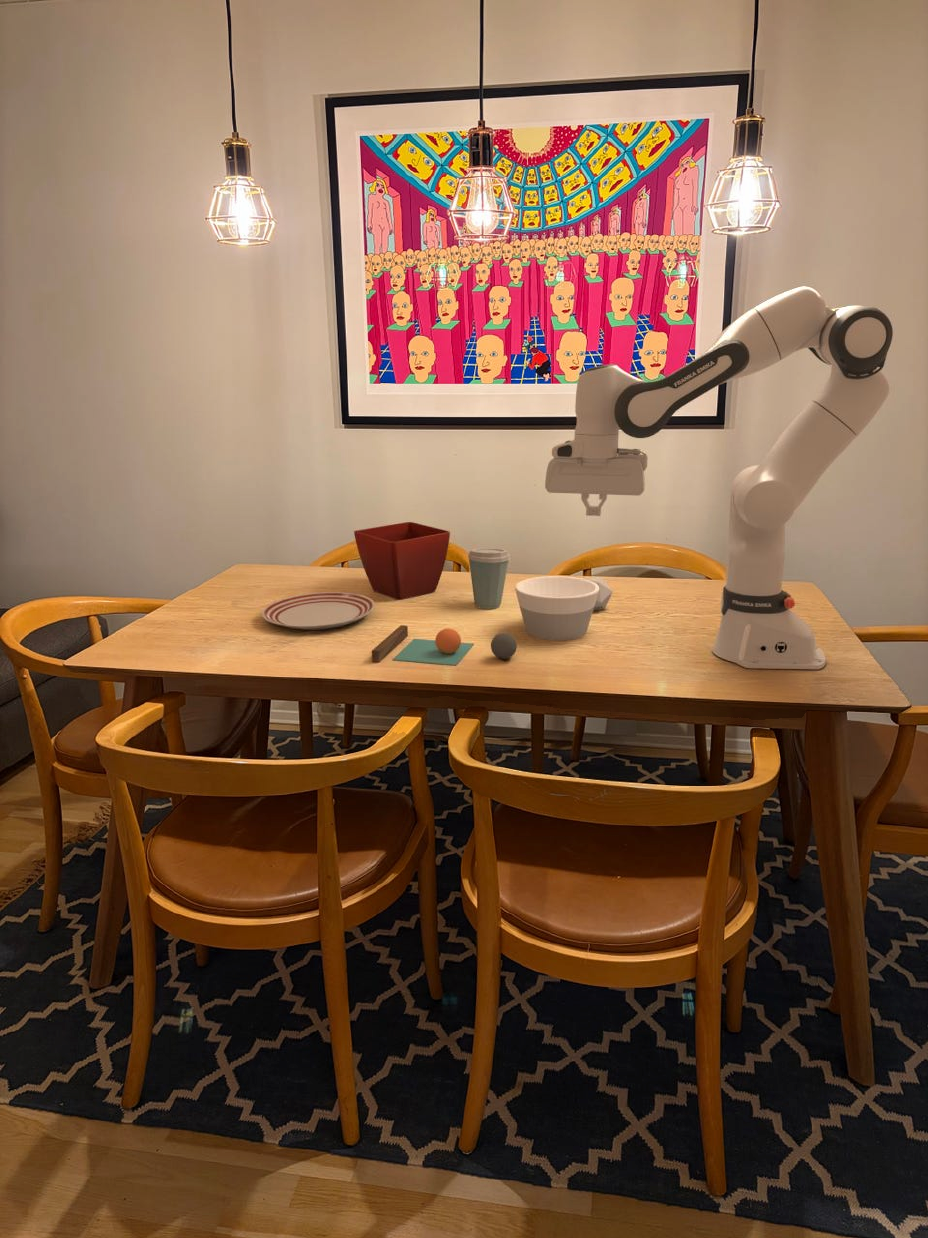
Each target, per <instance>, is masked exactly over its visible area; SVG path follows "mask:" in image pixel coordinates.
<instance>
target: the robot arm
mask: <svg viewBox="0 0 928 1238" xmlns="http://www.w3.org/2000/svg"><path fill="white" fill-rule="evenodd" d="M893 334H894V332H893V326H892V323H891V321H890V319H889V317H888V316H887V315H886V313H884V312H883V311H882V310H880V309H878V308H876V307H874V306H870V305H847V306H844V307H833V308H830V307H829V306H828V305H827V304H826V301H825V299H824V298H823V297H822V295H821V294H820V293H819V292H818V291H816V290H815V289H814V288H812V287H810V286H800V287H797V288H793V289H791V290H788V291H785V292H783V293H781V294H778V295H776V296H774V297H772V298H770V299H768V300H766V301H764V302H762V303H761V304H759V305H757V306H755V307H753V308H752V309H750V310H748V311H747V312H745V313H744V314H742V315H741V316H739V317H738V318H737V319H736V320H734V321H733V322H732V323H730V324H729V325H728V326H726V327H725V328H724V330H723V331H721V332H720V334H719V335H718V337H717V338H716V339H715V341H714V342H713V344H712V345H710V347H709V348H708V349H707V350H705V352H704V353H702V354H701V355H699V356H698V357H697V358H695V359H693V360H692V361H690V362H689V363H687V364H685V365H684V366H682V367H680V368H679V369H677V370H675V371H673V372H671V373H670V374H668V375H667V376H665V377H662V378H660V379H657V380H653V381H649V382H648V381H646V380H643V379H641V378H639V377H636V376H634V375H632V374H629V373H628V372H626V371H624V370H623V369H621V368H620V366H618V365H617V364H614V363H609V364H608V363H607V364H604V365H598V366H594V367H590V368H589V367H588V368H586V369H585V370H584V371H582V372H581V374H580V375H579V377H578V379H577V384H576V391H575V392H576V393H575V406H574V407H575V417H576V425H575V428H574V438H573V439H572V440H566V441H564V442H562V443H559V444H556V445H554V446H553V447H552V448H551V449H552V450H551V456H552V457H553V458H551V459H550V460H549V462H548V464H547V467H546V473H545V480H544V481H545V484H544V486H545V490H546V491H547V492H548V494H549V493H550V494H573V495H574V494H577V495H579V494H581V495H580V496H581V497H580V499H581V502H583V503H582V504H583V505H584V506H585V509H586V510H585V511H586V512H585V515H586V516H589V517H592V516H593V517H601V516H602V507H603V506H604V504H605V503H606V501H607V500H608V496H609V495H611V496H638V497H639V496H641V495H642V494H643V493H644V492H645V488H646V487H645V485H646V481H645V471H646V469H647V468H648V455H647V454H646V452H645V451H642V450H641V448H622V447H621V448H620V447H619V435H620V434H619V433H620V432H619V431H620V430H621V432H623V433H624V434H626V435H627V436H630V437H631V438H635V439H646V438H650V437H652V436H655V435H656V434H657V433H659V432H660V431H661V430H662V429H663V428H665V426H666V425H667V423H668V422H669V420H670V419H671V418H672V417H673V415H674V414H675V413H676V412H677V411H679V410H680V409H681V408H682V407H684V406H686V405H688V404H689V403H691V402H693V401H694V400H695V399H697V398H699V397H701V396H702V395H704V394H706V393H707V392H709V391H711V390H713V389H715V388H716V387H718V386H719V385H723V384H725V383H728V382H730V381H733V380H737V379H741V378H743V377H747V376H750V375H752V374H755V373H757V372H760V371H762V370H765V369H767V368H769V367H771V366H772V365H773V366H774V365H775V364H777V363H779V362H781V361H782V360H784V359H786V358H787V357H789V356H790V355H792V354H794V353H796V352H798V351H801V350H803V349H808V350H809V351H810V352H811V353H812V354H813V355H814V356H815V357H816V358H817V359H818V360H819V361H821V362H823V363H824V364H827V365H829V366H831V367H830V369H831V371H830V375H829V378H828V379H827V382H826V383H825V385H823V388H822V389H821V390H820V391H819V392H817V394H816V395H815V396H814V397H813V398H812V400H811V401H809V403H808V404H807V405H806V406H805V407H804V408H803V409H802V411H801V412H800V413H798V415H797V416H795V418H794V419H793V420H792V421H791V422H790V424H789V425H788V426H787V427H786V428H785V429H784V431H782V433H781V434H780V436H779V437H778V439H777V440H776V442H775V443H774V445H773V446H772V448H771V449H770V450H769V451H768V453H767V454H766V455H765V457H764V458H763V459H762V461H761V462H760V463H759V464H757V465H752V466H748V467H746V468H744V469H743V470H742V471H740V472H739V473H738V474H737V475H736V476H735V478H734V479H733V482H732V484H731V486H730V487H731V488H730V496H729V497H730V498H729V499H730V500H729V515H728V517H729V521H728V523H729V524H728V552H727V553H728V554H727V565H726V567H727V568H726V576H725V577H726V578H725V586H724V587H723V588H722V593H721V603H720V610H721V611H720V612H721V619H720V624H719V628H718V631H717V635H716V639H715V640H714V643H713V646H712V649H711V651H712V653H713V654H714V655H715V656H716V657H719V658H721V659H724V660H725V661H729V662H733V663H735V664H737V665H739V666H741V667H744V668H746V669H766V670H767V669H773V670H775V669H776V670H777V669H778V670H779V669H780V670H820V669H822V668H824V667H825V666H826V662H827V661H826V660H827V659H826V654H825V652H824V650H822V649H821V648H820V647H818V646H817V644H816V636H815V633H814V631H813V630H814V629H812V627H811V626H810V625H809V623H807V622H806V621H805V620H804V619H802V618H801V616H799V615H798V614H797V613H795V612H794V611H792V609H793V608H794V607H795V605H796V601H795V599H794V598H793V597H792V595H791V594H789V592H788V591H787V590H786V591H785V590H783V589H782V587H783V577H784V571H785V570H784V569H785V568H784V567H785V562H786V561H785V560H786V545H785V544H786V541H785V540H786V539H785V534H786V533H785V528H786V527H785V525H786V523H787V522H789V520H790V519H791V517H792V516H793V515H794V513H795V511H796V510H797V509H798V508H799V506H800V505H801V504H802V503H803V501H804V500H805V499H806V497H807V496H808V495H809V494H810V492H811V491H812V490H813V488H814V487H815V486H816V484H817V483H818V481H819V479H820V478H821V477H822V476H823V474H825V473H826V470H827V469H828V468H829V467H830V466H831V465H832V464H833V462H834V461H836V460H837V458H838V457H839V456H840V455H841V454H842V453H843V452H844V451H845V450H846V449H847V447H849V446H850V444H851V443H852V442H853V441H855V439H856V438H857V437H858V436H859V435H860V434H861V433H862V431H863V430H864V429H866V427H868V425H869V424H870V422H871V421H873V418H874V417H875V415H877V413H878V412H879V410H880V409H881V408H882V406H883V404H884V402H885V401H886V399H887V398H888V395H889V393H890V387H889V382H888V380H887V379H886V377H885V375H884V373H882V372H881V371H882V370H883V368H884V367H885V362H886V360H887V355H888V352H889V350H890V347H891V344H892V340H893ZM590 495H598V499H599V500H600V502H599V504H598V506H595V505H592V506H591V504H590V502H589V500H588V499H589V498H590Z"/></svg>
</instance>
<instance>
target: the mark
mask: <svg viewBox="0 0 928 1238" xmlns="http://www.w3.org/2000/svg"><path fill="white" fill-rule="evenodd" d="M473 646H474V643H472V642H470V643H469V642H461V644H460V647H459V649H458V650H457V651H456V652H454V653H452V654H445V653H442V652H441V651H439V650H438V648H437V646H436V643H435V640H434V639H423V638H413V639H412V640H411V641H410V642H409V643H408V644H407V645H406V646H405V647H403V649H402V650H401V651H400V652H398V654H397V655H395V656H394V657H393V658H392V661H399V662H411V663H422V664H430V665H431V664H433V665H441V664H442V665H441V666H443V665H444V666H453V665H454V667H455V666H456V665H457V666H458V664H459V663H460V662H461V661H462V660H463V658H465V656H466V654H467V653H468V652H469V651H470V650H471V649H472V647H473ZM457 666H456V667H457Z"/></svg>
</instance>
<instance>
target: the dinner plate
mask: <svg viewBox="0 0 928 1238" xmlns="http://www.w3.org/2000/svg"><path fill="white" fill-rule="evenodd" d="M375 603H376V602H375V601H374V600H373V599H372V598H370V597H368V596H365V595H362V594H359V593H358V594H357V593H353V592H341V591H322V592H311V593H304V594H297V595H293V596H289V597H284V598H282V599H278V600H276V601H274V602H271V603H270V604H268V605H267V606H265V607H264V608H263V609H262V610H261V616H262V618H263V619H264V620H265V621H267V622H268V623H270V624H274V625H278V626H280V627H285V628H289V629H295V630H302V631H303V630H305V631H318V630H326V629H327V630H329V629H336V628H340V627H343V626H346V625H348V624H352V623H354V622H357V621H359V620H361V619H363V618H366V617H367V616H368V615H370V614H371V612H373V611H374V610H375V607H376V604H375Z"/></svg>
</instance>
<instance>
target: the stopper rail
mask: <svg viewBox="0 0 928 1238" xmlns="http://www.w3.org/2000/svg"><path fill="white" fill-rule="evenodd" d="M408 631H409V630H408V625H406V624H405V625H403V624H402V625H401V624H400V625H399V626H398V627H397V628H396V629H394V631H393V632H391V633H390V634H389V635H388V636H387V637H386V638H384V639H383V640H382V641H381V642H380V643H379V644H377V646H375V647H374V648H373V649H372V650H371V662H372V663H380V662H382V660H384V659H385V658H386V657H387V656H388V655H389V654H391V652H392V651H393V650H395V649H396V648H397V647H398V646H399V645H400V644H401V643H403V641H404V640H405V639H407V638H408V636H409V632H408Z"/></svg>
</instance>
